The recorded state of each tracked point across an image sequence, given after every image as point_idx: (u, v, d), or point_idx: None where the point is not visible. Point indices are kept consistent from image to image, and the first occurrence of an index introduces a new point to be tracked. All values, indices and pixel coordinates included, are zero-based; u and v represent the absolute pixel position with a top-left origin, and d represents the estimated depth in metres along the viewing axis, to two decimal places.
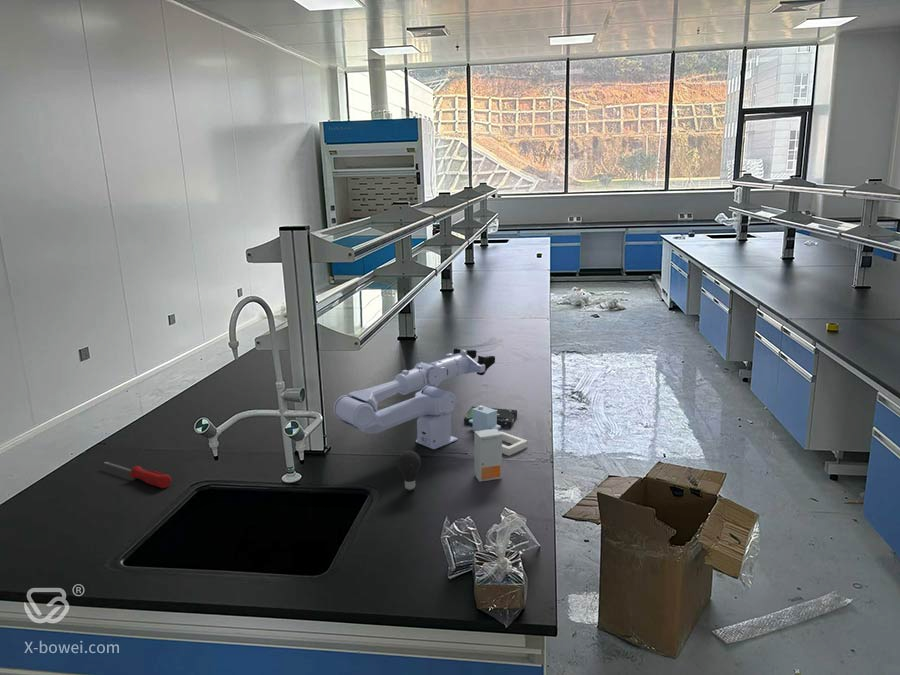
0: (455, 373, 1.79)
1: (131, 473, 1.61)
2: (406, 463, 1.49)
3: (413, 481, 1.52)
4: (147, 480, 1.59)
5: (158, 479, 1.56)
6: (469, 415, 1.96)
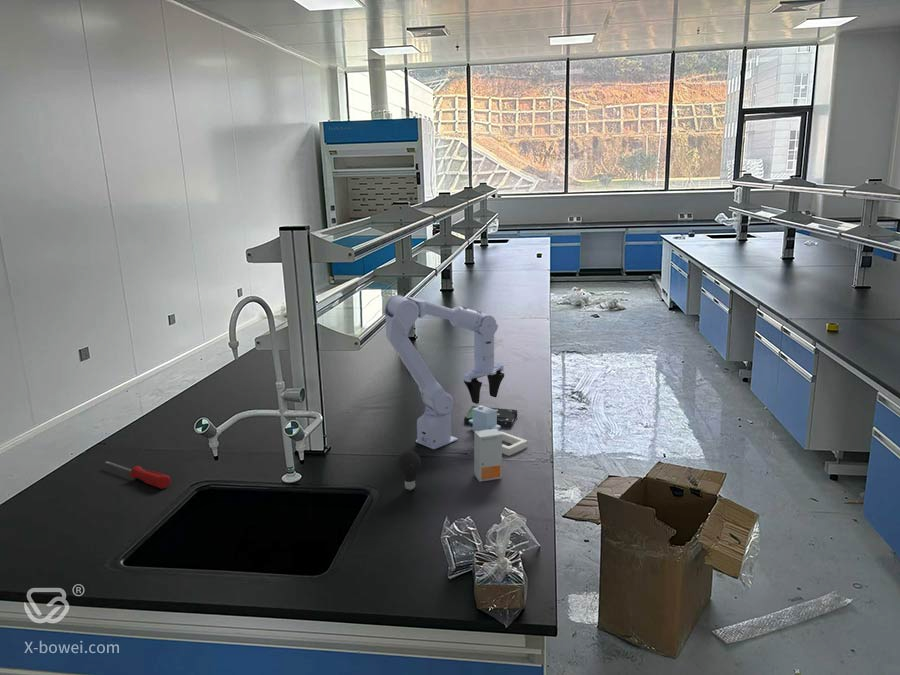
0: (484, 354, 1.80)
1: (131, 473, 1.61)
2: (406, 463, 1.49)
3: (413, 481, 1.52)
4: (146, 480, 1.58)
5: (157, 480, 1.56)
6: (469, 415, 1.96)
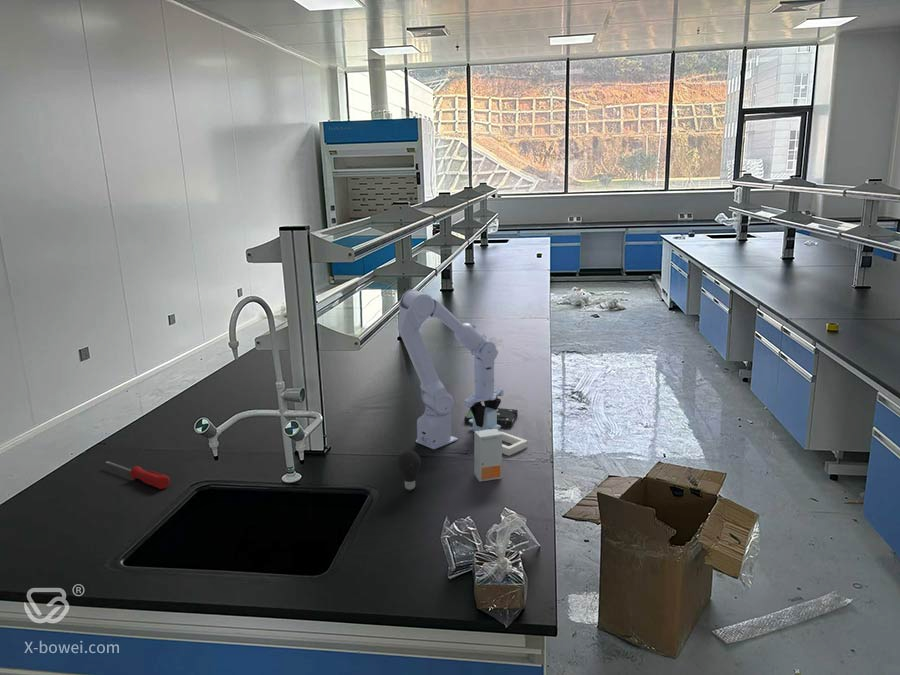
0: (484, 379, 1.81)
1: (131, 473, 1.61)
2: (406, 463, 1.49)
3: (413, 481, 1.52)
4: (146, 480, 1.58)
5: (156, 480, 1.56)
6: (469, 414, 1.96)
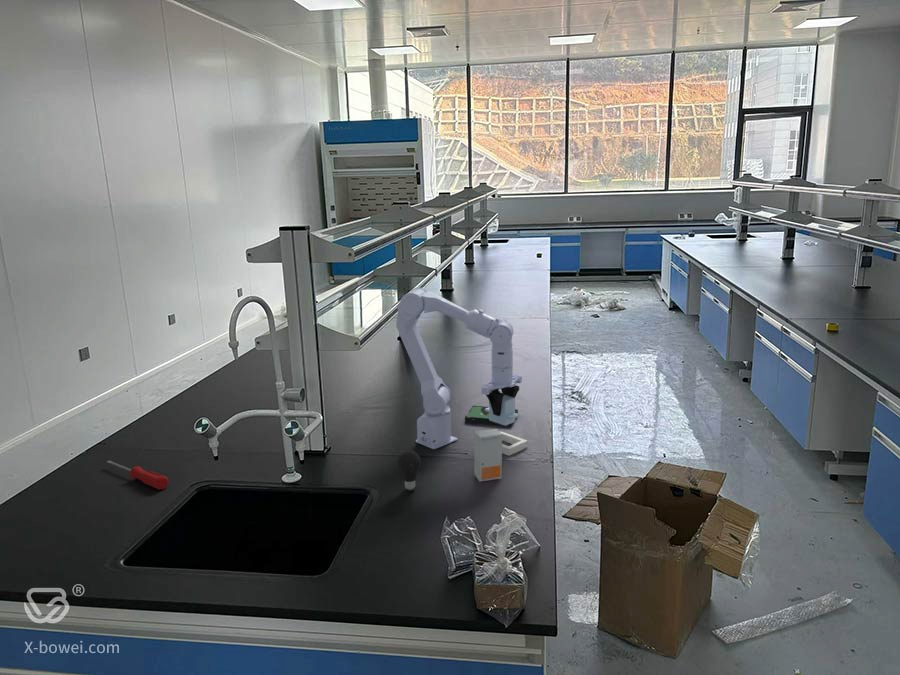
0: (496, 364, 1.71)
1: (131, 473, 1.61)
2: (406, 463, 1.49)
3: (413, 481, 1.52)
4: (145, 481, 1.58)
5: (155, 480, 1.55)
6: (470, 414, 1.97)
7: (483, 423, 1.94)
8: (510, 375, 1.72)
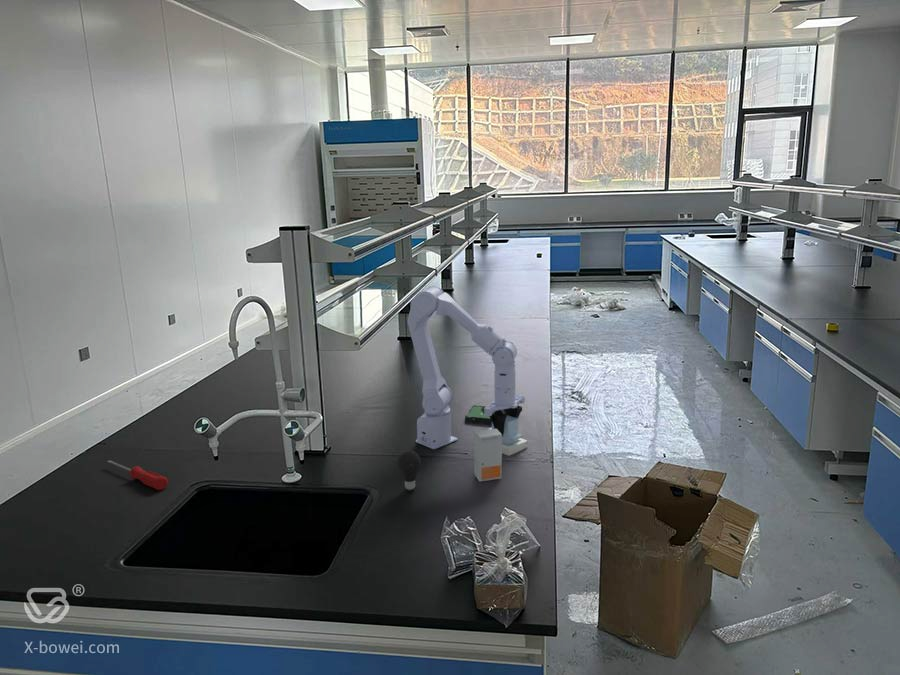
0: (498, 385, 1.71)
1: (130, 473, 1.61)
2: (406, 463, 1.49)
3: (413, 481, 1.52)
4: (145, 481, 1.58)
5: (154, 481, 1.55)
6: (470, 414, 1.97)
7: (483, 423, 1.94)
8: (513, 396, 1.72)
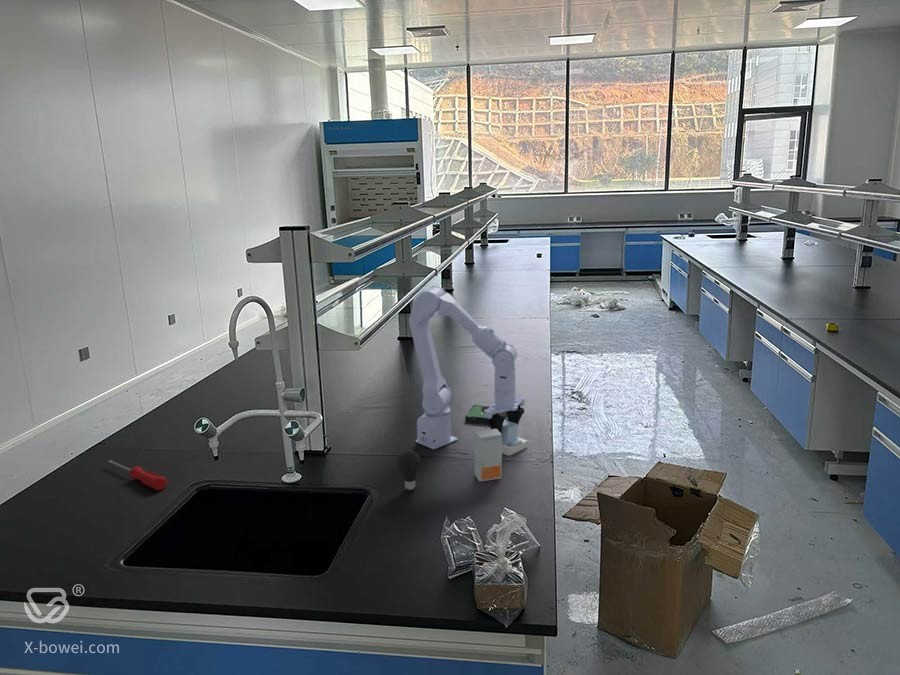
0: (498, 388, 1.71)
1: (130, 473, 1.61)
2: (406, 463, 1.49)
3: (413, 481, 1.52)
4: (144, 481, 1.58)
5: (153, 481, 1.55)
6: (470, 413, 1.97)
7: (483, 423, 1.94)
8: (513, 399, 1.72)
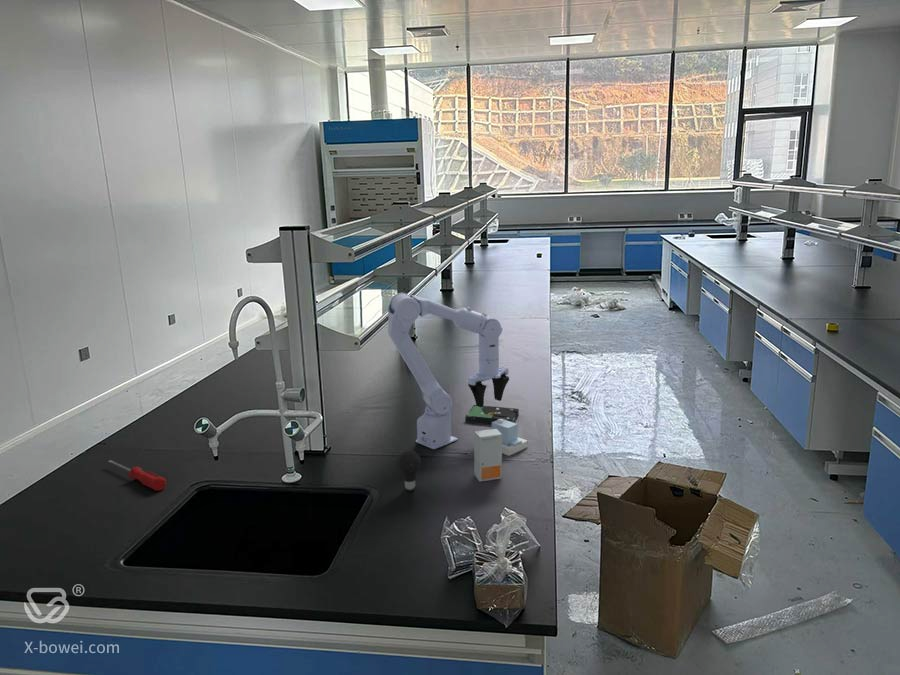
0: (488, 357, 1.79)
1: (130, 473, 1.61)
2: (406, 463, 1.49)
3: (413, 481, 1.52)
4: (143, 482, 1.58)
5: (152, 481, 1.55)
6: (470, 413, 1.97)
7: (484, 422, 1.94)
8: (496, 367, 1.80)
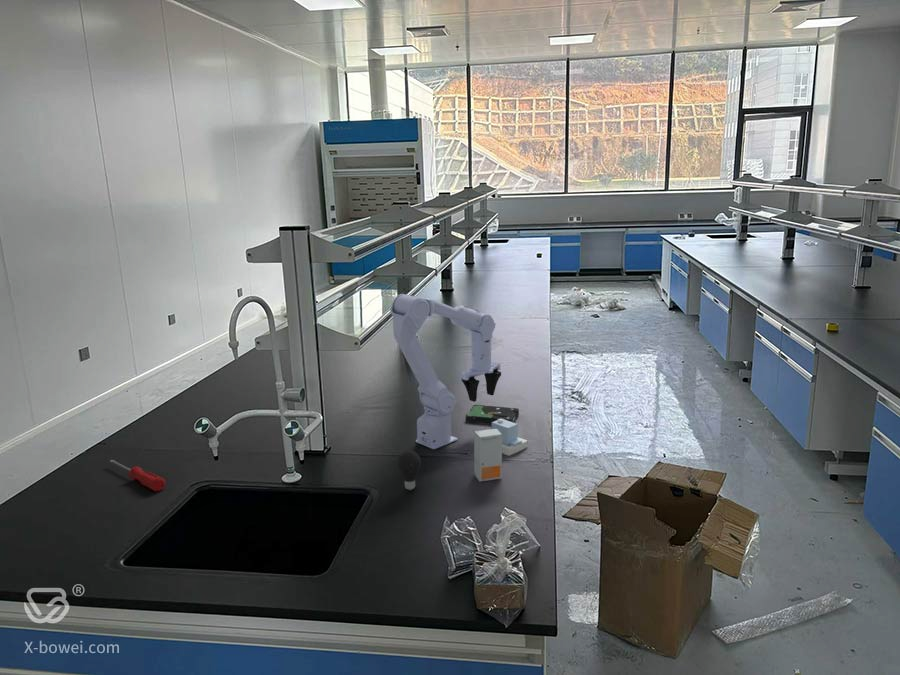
0: (483, 352, 1.83)
1: (130, 473, 1.61)
2: (406, 463, 1.49)
3: (413, 481, 1.52)
4: (143, 482, 1.58)
5: (151, 482, 1.55)
6: (471, 413, 1.98)
7: (484, 422, 1.94)
8: (488, 362, 1.85)
